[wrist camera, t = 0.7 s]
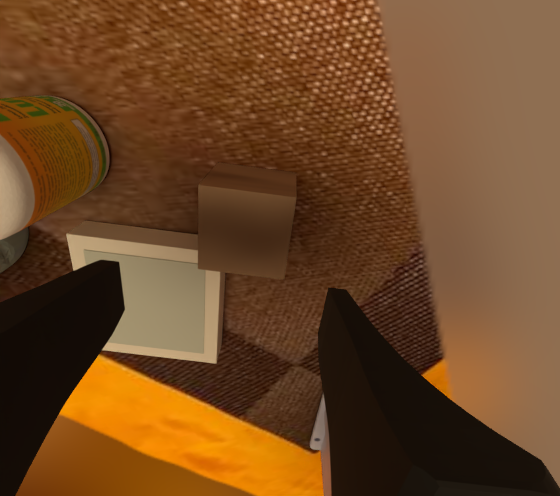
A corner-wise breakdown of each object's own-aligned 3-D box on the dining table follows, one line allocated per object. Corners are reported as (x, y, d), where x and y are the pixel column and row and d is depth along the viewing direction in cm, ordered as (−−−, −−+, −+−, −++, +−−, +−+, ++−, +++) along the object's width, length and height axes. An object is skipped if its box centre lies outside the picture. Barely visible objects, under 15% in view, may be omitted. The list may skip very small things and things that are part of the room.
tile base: (221, 343, 25) (216, 364, 23) (103, 329, 25) (88, 349, 23) (227, 238, 21) (220, 254, 19) (85, 220, 21) (65, 234, 19)
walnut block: (286, 241, 21) (284, 279, 17) (216, 232, 21) (197, 269, 17) (296, 172, 19) (296, 197, 15) (218, 161, 19) (198, 184, 15)
